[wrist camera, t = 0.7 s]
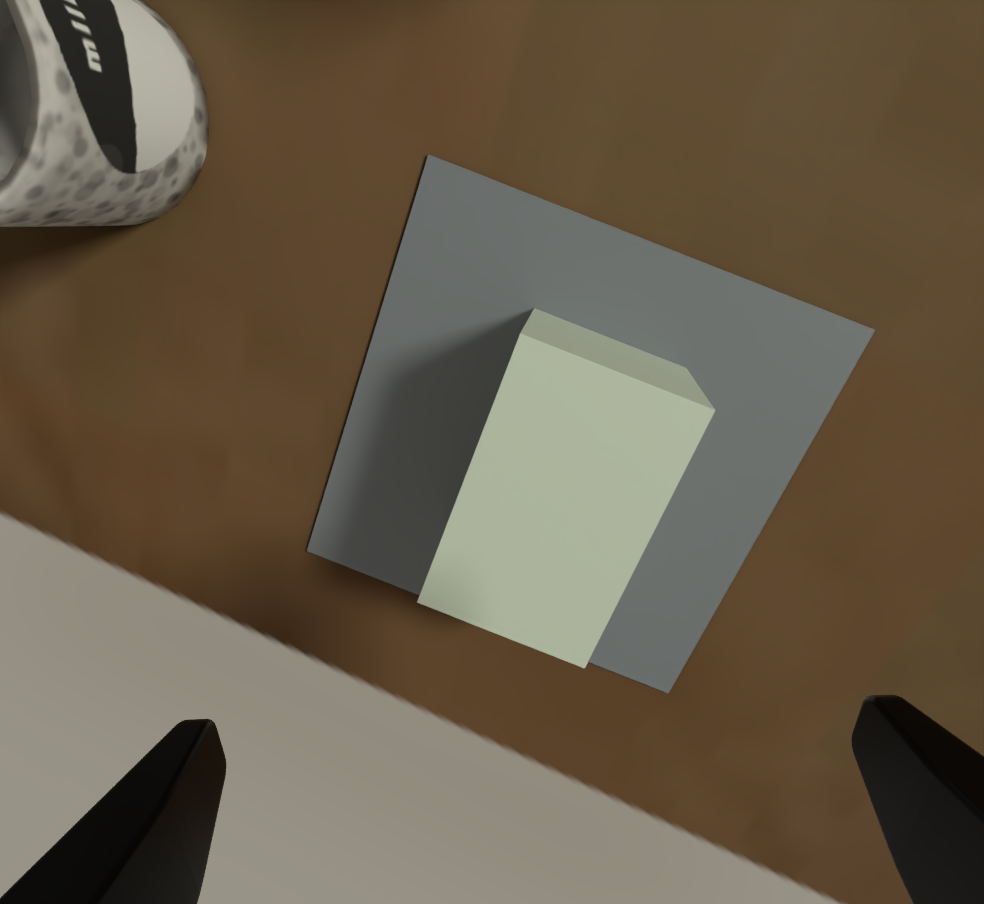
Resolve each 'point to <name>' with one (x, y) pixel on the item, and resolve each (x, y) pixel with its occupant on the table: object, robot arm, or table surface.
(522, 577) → the sage block
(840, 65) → the table surface
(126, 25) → the mug
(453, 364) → the tile
